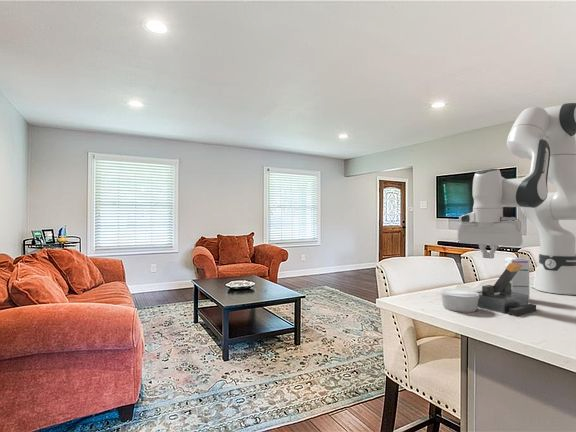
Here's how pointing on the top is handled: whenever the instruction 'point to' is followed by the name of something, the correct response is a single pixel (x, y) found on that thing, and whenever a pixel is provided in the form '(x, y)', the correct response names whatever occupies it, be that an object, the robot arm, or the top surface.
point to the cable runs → (522, 310)
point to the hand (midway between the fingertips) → (488, 258)
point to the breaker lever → (506, 277)
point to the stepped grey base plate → (500, 299)
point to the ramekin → (459, 300)
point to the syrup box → (520, 276)
